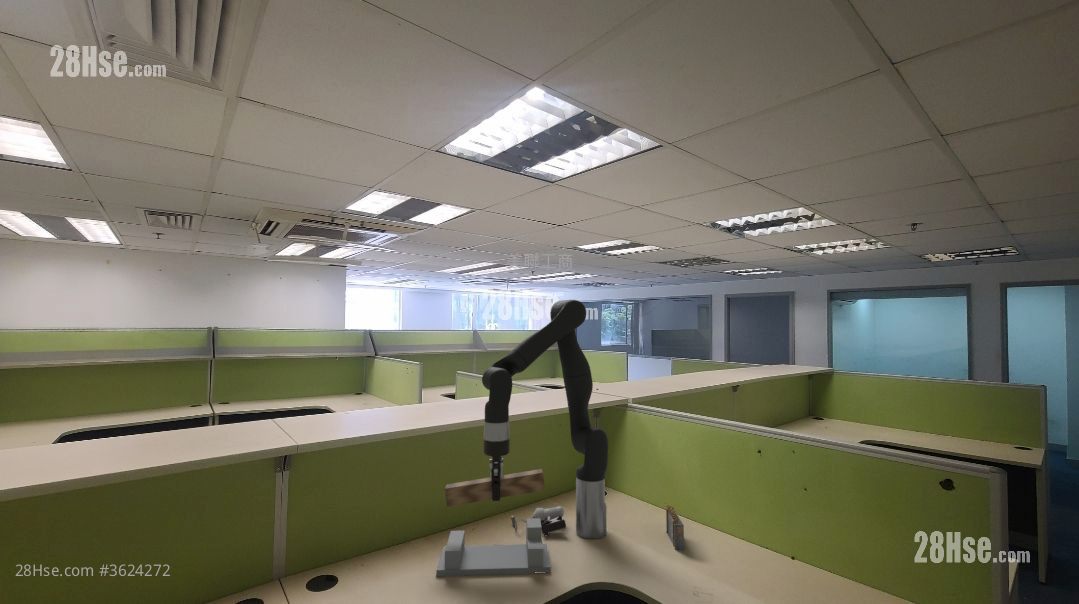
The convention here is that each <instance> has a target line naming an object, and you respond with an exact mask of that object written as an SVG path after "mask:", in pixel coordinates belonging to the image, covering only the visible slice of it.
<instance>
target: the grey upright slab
mask: <svg viewBox="0 0 1079 604" xmlns="http://www.w3.org/2000/svg"><path fill="white" fill-rule="evenodd" d="M664 505H665V507H666V508H667V509H665V510H666V511H665V516H666V518H665V519H666V533H667V537H668V539H669V540H670V542H671V543H672V547H673V549H674V550H675V551H685V536H684V535H685V531H684V523H683V521H682V520H681V517H679V515H678V513H677V512H676V510H675V507H674V506H672V505H669V504H667V503H666V502H664Z"/></svg>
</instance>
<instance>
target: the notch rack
mask: <svg viewBox="0 0 1079 604" xmlns="http://www.w3.org/2000/svg"><path fill="white" fill-rule="evenodd" d="M526 521H527V523H526V525H525V527H526V531H525V532H526V533H525V535H526V536H525V537H526V539H525V540H526V543H523V544H522V543H521V544H518V543H517V544H487V545H486V544H484V545H483V544H481V545H480V544H479V545H477V544H476V545H465V543H466V542H465V537H466V535H465V532H466V531H465V530H450V533H449V536H448V540H447V543H446V545H444V546H442V547H443V548H442V551H441V555H440V558H439V560H438V564H437V567H436V571H435V573H436V575H435V576H436V577H454V576H456V577H457V576H459V577H460V576H489V575H490V576H492V575H498V576H499V575H521V574H522V575H527V574H526V573H533V574H536V573H535V572H552V571H551V569H552V567H551V561H550V554H549V550H548V545H547V543H543V538H542V537H543V536H542V534H543V533H542V527H541V521H540V518H534V519H533V518H526Z"/></svg>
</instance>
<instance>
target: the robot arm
mask: <svg viewBox="0 0 1079 604" xmlns="http://www.w3.org/2000/svg"><path fill="white" fill-rule="evenodd" d="M549 314H550V315H549V316H550V322H549V323H547V324H546V325H545V326H543V327H542V328H540V329H539V330H537V331H536V332H534V333H532V334H531V335H529V336H527V337H526V338H525V339H523V340H522V341H521V342H519V343H518V344H517V345H516V346H515V347H513V349H512V350H511V351H509V352H508V353H507V355H505V356H503V357H502V358H500V359H499V360H496V361H495V362H494V363H492V364H491V365H490V366H489V367H488V368H487V369H486V370H484V372H483V374H482V377H481V382H482V383H481V384H482V385H483V387H484V388H485V389H486V390H488V391H489V395H488V396H489V397H488V401H487V402H485V405H484V423H483V424H484V425H483V454H484V455H486V456H487V457H491V458H489V463H488V465H489V467H488V468H489V469H490V471H489V472H490V473H489V475H490V476H489V477H490V478H491V479H492V484H491V486H492V499H491V500H492V501H493V502H500V500H501V498H500V486H501V478H502V475H503V472H504V471H503V468H504V458H503V457H502V456H507V455H508V454H509V453H510V449H511V448H510V444H511V443H510V438H511V437H510V436H511V433H510V430H511V429H510V420H509V419H510V417H509V415H510V409H509V407H510V402H511V396H512V391H513V378H512V377H513V376H514V375H516V374H519V373H522V372H524V371H525V370H527V368H529V367H530V366H531V365H532V364H533V363H534V362H535V361H536V360H537V359H538V358H539V357H541V356H542V355H543V354H544V353H545V352H546V351H547V350H548V349H550V348H551V347H552V346H553V345H554V344H557V349H558V354H559V360H560V366H561V371H562V373H561V375H562V379H563V384H564V390H565V395H566V401H567V407H568V415H569V416H568V417H569V427H570V429H569V431H570V439H571V445H572V446H573V449H574V450H575V451H576V452H578V453H579V454H582V455H584V458H583V460H584V461H583V464H581V465H578V466H577V467H576V469H575V470H576V473H575V533H576V534H577V535H578V536H580V537H582V538H585V539H594V540H595V539H599V538H603V537H607V532H608V531H607V526H608V525H607V524H608V523H607V518H608V517H607V503H606V499H605V498H606V483H605V482H606V481H605V480H606V479H605V478H606V471H607V468H608V457H609V456H608V455H609V438H608V435H607V434H606V432H605V431H604V430H603V429H601V428H598V427H595V426H592V424H591V420H590V415H589V403H590V401H591V397H592V393H593V387H594V384H593V377H592V371H591V366H590V364H589V361H588V359H587V356H586V355H585V353H584V352H583V350H582V347H580V344H579V342H578V338H577V334H576V329H578V328H579V327H580V326H581V325H582V324H584V322H585V320H586V318H587V309H586V306H585V305H584V303H583V302H581V301H580V300H578V299H564V300H558V301H556V302H554V303H553V304H552V305H551V308H550V313H549ZM494 481H499V483H494Z"/></svg>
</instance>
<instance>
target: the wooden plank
mask: <svg viewBox="0 0 1079 604" xmlns="http://www.w3.org/2000/svg"><path fill="white" fill-rule="evenodd" d="M544 480H545V479H544V473H543V469H542V468H539V469H538V468H537V469H533V470H526V471H520V472H516V473H509V474H502V478H501V486H500V499H502V498H507V497H513V496H519V495H520V496H521V495H524V494H531V493H536V492H537V493H539V492H543V491H544V492H545V491H546V487H545V481H544ZM494 483H499V481H494ZM491 484H492V479H491V478H490V476H489V477H484V478H477V479H472V480H466V481H460V482H454V483H448V484H446V485H445V488H444V492H445V493H444V494H445V502H446V508H447V507H448V508H449V507H453V506H459V505H460V506H461V505H466V504H471V503H479V502H482V501H488V500H489V501H490V500H492V486H491Z"/></svg>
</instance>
